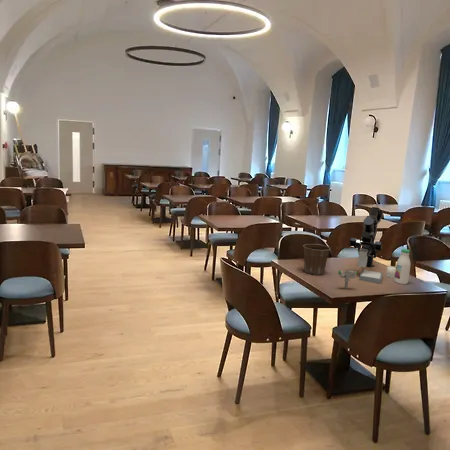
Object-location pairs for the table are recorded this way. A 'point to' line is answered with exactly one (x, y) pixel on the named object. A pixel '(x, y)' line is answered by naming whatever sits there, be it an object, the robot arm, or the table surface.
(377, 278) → the stand
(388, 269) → the white short cylinder
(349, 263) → the table surface
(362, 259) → the housing
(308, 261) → the plant pot
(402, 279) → the milk bottle
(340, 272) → the mechanical component
